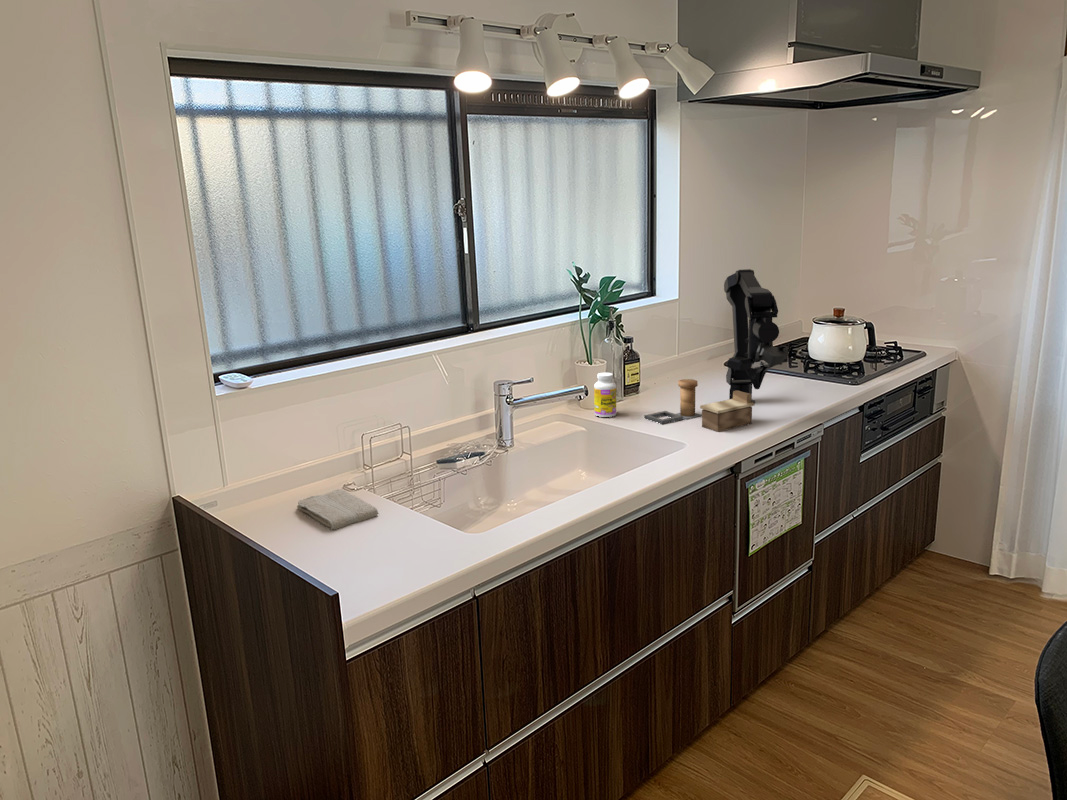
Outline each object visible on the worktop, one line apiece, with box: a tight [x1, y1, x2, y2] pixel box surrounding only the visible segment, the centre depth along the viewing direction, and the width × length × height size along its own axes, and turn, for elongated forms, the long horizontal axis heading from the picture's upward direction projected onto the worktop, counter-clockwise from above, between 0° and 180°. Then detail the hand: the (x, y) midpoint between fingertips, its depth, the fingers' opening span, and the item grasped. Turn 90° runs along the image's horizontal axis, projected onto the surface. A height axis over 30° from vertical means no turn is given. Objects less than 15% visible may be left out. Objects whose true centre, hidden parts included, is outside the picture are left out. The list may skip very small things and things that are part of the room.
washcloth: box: [296, 488, 379, 531], centre depth 183 cm, size 12×18×3 cm, turn 41°
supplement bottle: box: [593, 371, 617, 418], centre depth 250 cm, size 7×7×13 cm
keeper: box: [643, 410, 684, 425], centre depth 245 cm, size 8×8×1 cm
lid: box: [699, 390, 755, 414], centre depth 235 cm, size 14×7×3 cm, turn 121°
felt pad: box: [676, 412, 702, 420], centre depth 248 cm, size 6×6×1 cm
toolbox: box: [701, 406, 753, 433], centre depth 236 cm, size 13×6×5 cm, turn 121°
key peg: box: [677, 378, 699, 417], centre depth 246 cm, size 6×6×10 cm
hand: (756, 389), depth 240 cm, fingers closed
